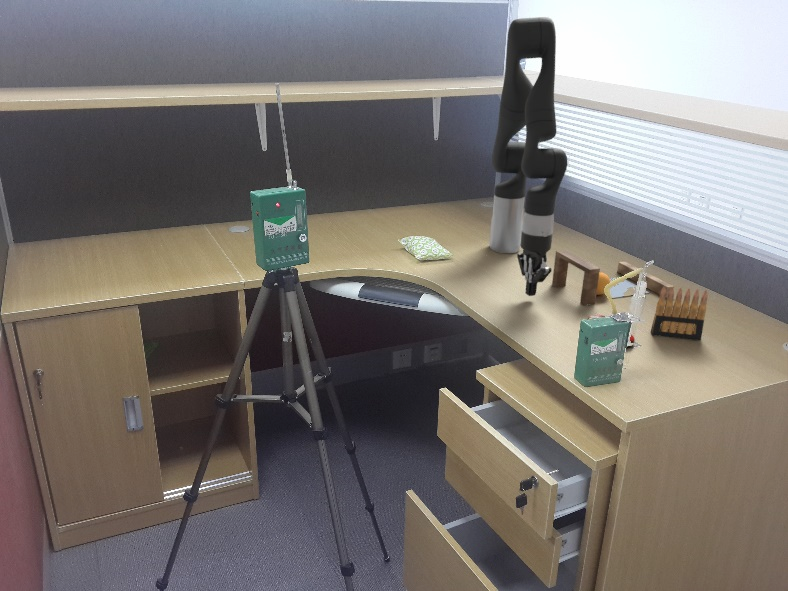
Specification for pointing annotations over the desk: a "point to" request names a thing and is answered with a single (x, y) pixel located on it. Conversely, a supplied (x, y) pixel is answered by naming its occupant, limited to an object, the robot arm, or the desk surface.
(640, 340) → the desk surface
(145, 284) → the desk surface
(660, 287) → the stopper wall
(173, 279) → the desk surface
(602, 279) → the ball
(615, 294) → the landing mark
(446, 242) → the desk surface
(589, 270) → the bridge
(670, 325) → the ammunition clip
